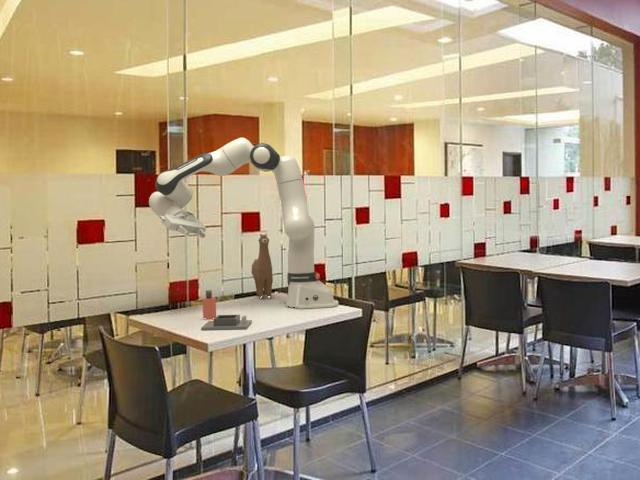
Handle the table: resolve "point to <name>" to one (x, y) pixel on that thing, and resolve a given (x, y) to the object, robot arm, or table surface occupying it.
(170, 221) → the robot arm
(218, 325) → the dock
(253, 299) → the table surface
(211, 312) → the plug
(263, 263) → the toy
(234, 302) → the table surface
